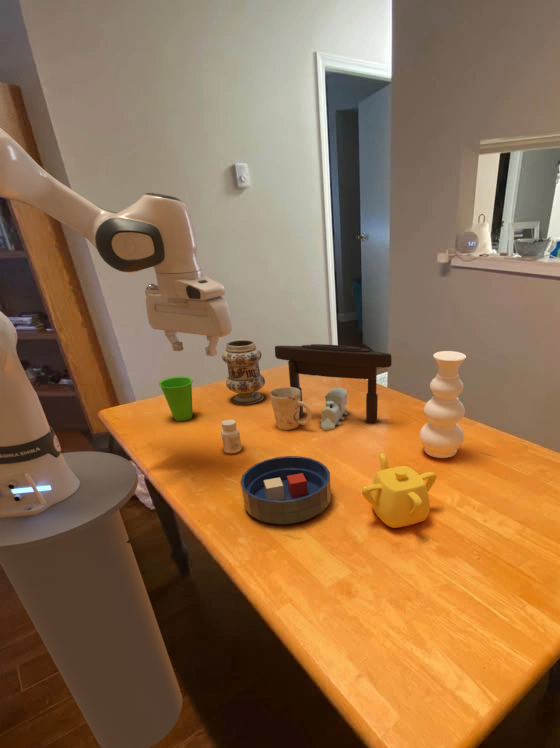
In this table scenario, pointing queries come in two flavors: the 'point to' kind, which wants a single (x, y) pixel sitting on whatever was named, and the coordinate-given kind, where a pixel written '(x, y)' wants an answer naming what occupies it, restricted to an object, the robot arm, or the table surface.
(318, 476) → the bowl
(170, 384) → the cup
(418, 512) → the teapot
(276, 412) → the mug
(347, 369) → the stool
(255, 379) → the apothecary jar
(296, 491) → the red block
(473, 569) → the table surface
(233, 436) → the pill bottle
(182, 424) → the table surface
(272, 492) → the cream block
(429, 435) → the vase
